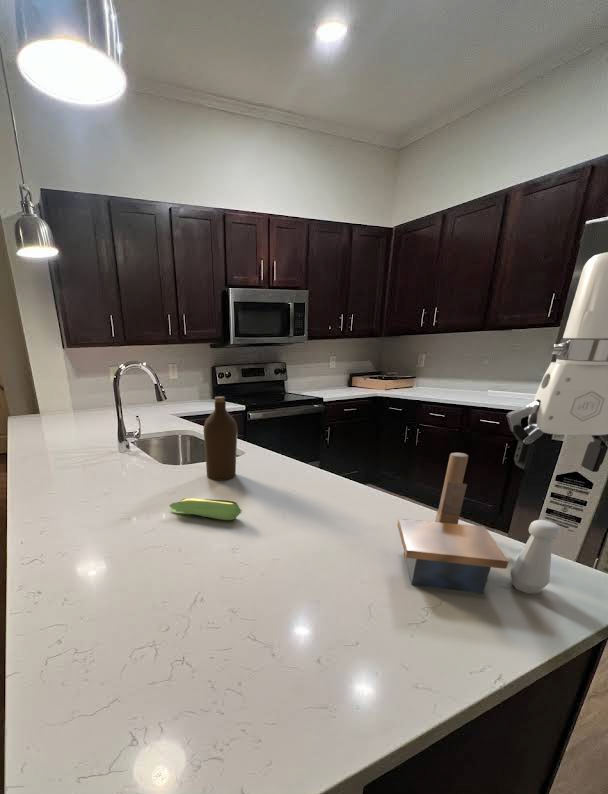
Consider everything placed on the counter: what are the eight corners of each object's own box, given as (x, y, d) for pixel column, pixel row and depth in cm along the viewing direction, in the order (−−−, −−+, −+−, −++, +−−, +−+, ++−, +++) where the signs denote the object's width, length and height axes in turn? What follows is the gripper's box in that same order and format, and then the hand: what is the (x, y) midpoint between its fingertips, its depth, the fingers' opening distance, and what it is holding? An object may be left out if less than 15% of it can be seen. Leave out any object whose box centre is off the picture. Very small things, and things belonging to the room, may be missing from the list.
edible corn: (237, 524, 102) (237, 507, 100) (164, 514, 108) (163, 498, 106) (244, 516, 107) (244, 500, 105) (173, 507, 113) (171, 491, 111)
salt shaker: (526, 577, 79) (547, 514, 74) (553, 594, 74) (577, 528, 69) (499, 580, 78) (518, 517, 73) (524, 598, 73) (546, 531, 68)
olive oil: (212, 482, 130) (210, 400, 120) (200, 473, 139) (197, 396, 129) (243, 477, 134) (243, 398, 124) (229, 468, 143) (228, 393, 133)
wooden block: (434, 542, 93) (451, 464, 85) (434, 523, 102) (449, 451, 94) (453, 545, 91) (471, 466, 84) (451, 525, 100) (468, 452, 93)
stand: (475, 559, 86) (484, 526, 83) (497, 598, 73) (508, 561, 70) (392, 550, 90) (398, 518, 87) (400, 586, 77) (407, 550, 74)
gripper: (537, 354, 57) (505, 473, 64) (684, 353, 55) (633, 478, 61) (512, 351, 64) (486, 459, 71) (641, 351, 61) (601, 463, 68)
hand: (554, 468), depth 66 cm, fingers open, 9 cm apart
